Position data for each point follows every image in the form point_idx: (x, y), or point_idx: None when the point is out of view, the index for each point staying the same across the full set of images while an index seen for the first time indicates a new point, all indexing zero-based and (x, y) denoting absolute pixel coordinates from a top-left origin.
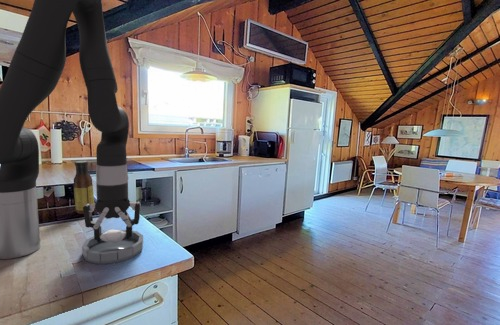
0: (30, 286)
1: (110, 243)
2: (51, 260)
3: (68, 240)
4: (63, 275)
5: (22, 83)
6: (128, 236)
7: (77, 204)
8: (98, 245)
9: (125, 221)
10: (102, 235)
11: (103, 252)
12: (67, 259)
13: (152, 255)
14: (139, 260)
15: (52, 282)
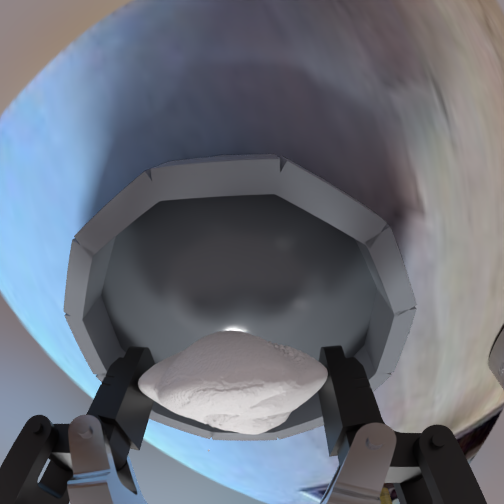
0: (496, 66)
1: None
2: (484, 258)
3: (425, 393)
4: (432, 94)
5: None
6: (124, 358)
7: (387, 499)
8: None
9: (99, 466)
10: (308, 374)
11: (263, 185)
12: (443, 256)
13: (37, 224)
14: (71, 178)
15: (448, 53)
